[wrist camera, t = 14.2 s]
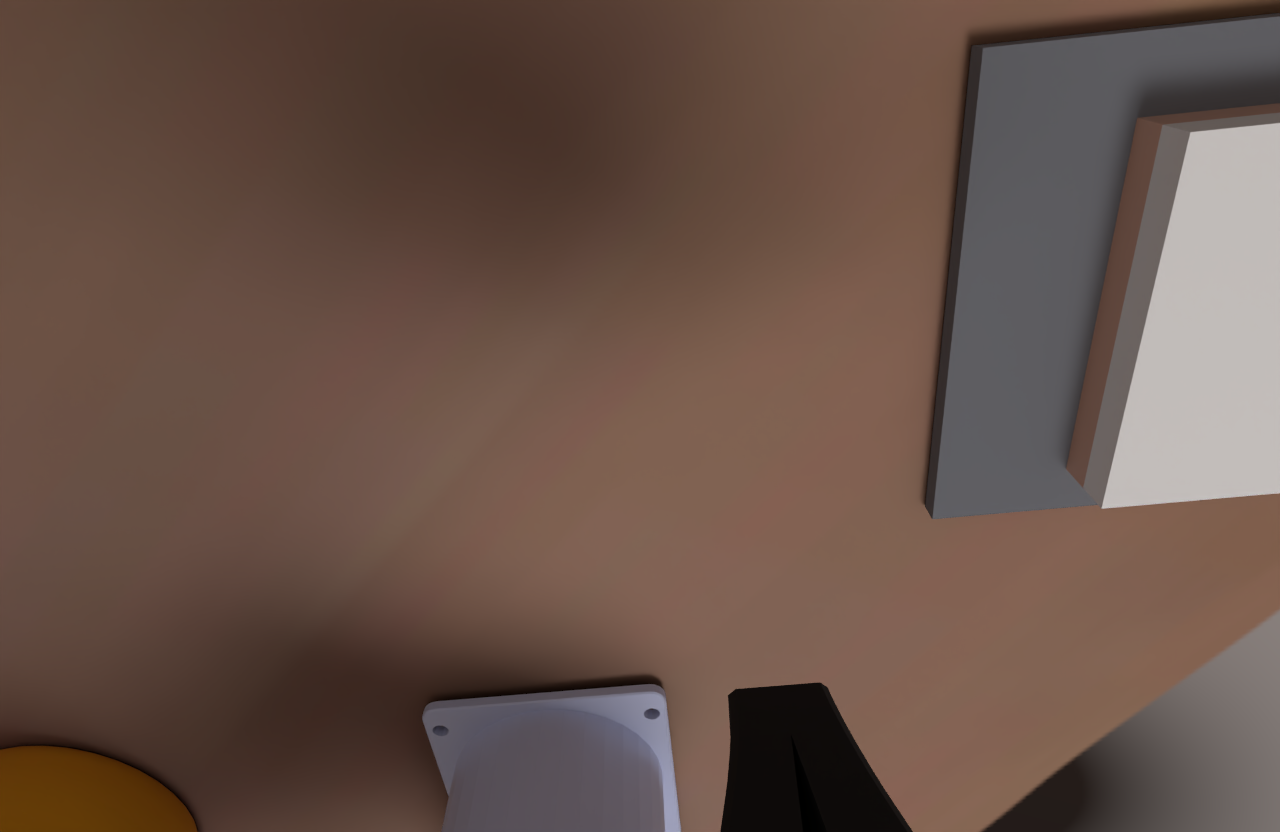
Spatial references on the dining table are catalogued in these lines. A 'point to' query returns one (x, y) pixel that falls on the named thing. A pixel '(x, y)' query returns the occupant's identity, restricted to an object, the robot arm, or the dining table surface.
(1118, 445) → the tile
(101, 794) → the beer bottle
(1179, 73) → the mat
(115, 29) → the dining table surface
